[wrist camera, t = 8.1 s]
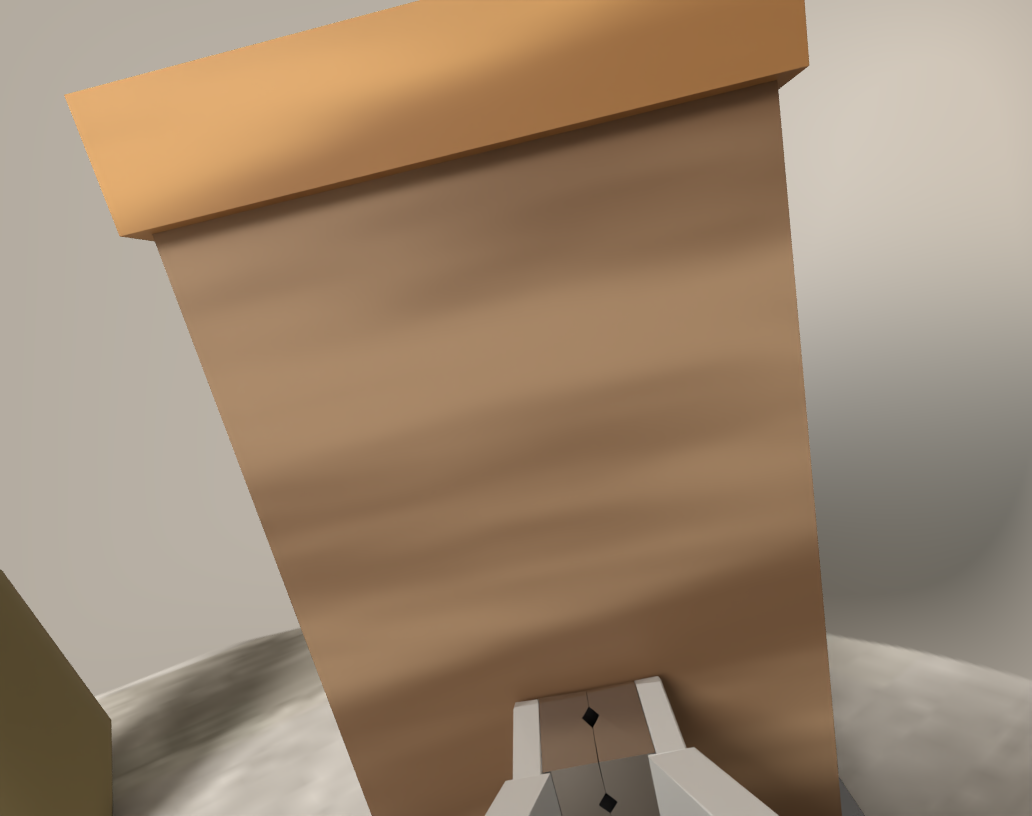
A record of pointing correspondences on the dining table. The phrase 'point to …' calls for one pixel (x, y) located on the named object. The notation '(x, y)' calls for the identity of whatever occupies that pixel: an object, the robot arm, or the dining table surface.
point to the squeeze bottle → (47, 724)
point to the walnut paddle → (507, 366)
